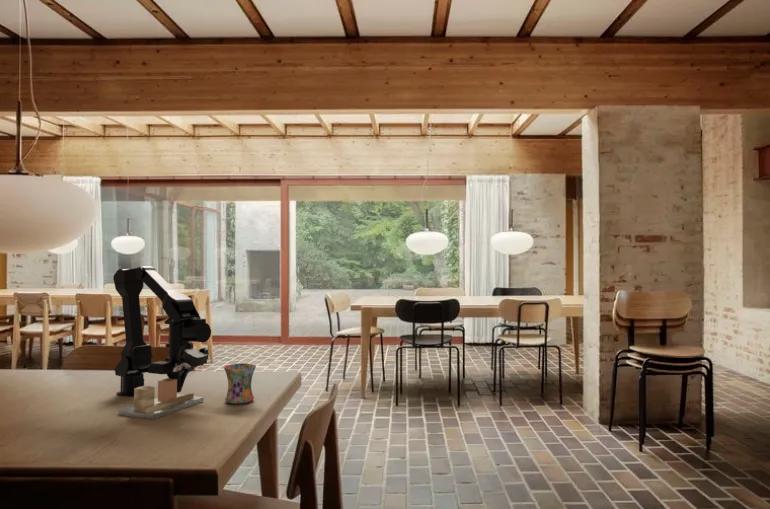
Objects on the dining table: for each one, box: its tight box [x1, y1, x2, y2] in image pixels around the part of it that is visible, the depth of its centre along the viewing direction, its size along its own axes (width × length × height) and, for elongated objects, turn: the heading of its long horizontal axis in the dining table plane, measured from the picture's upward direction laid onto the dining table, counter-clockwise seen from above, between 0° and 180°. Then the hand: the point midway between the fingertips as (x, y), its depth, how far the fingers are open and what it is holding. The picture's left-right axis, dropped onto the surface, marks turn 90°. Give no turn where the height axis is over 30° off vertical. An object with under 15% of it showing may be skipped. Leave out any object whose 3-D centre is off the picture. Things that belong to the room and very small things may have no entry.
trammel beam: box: [133, 385, 195, 413], centre depth 151 cm, size 5×18×6 cm, turn 160°
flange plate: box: [117, 393, 205, 420], centre depth 151 cm, size 12×20×1 cm, turn 159°
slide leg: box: [157, 377, 178, 402], centre depth 153 cm, size 4×4×6 cm
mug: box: [223, 363, 257, 405], centre depth 160 cm, size 12×9×11 cm
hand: (178, 392), depth 157 cm, fingers closed
